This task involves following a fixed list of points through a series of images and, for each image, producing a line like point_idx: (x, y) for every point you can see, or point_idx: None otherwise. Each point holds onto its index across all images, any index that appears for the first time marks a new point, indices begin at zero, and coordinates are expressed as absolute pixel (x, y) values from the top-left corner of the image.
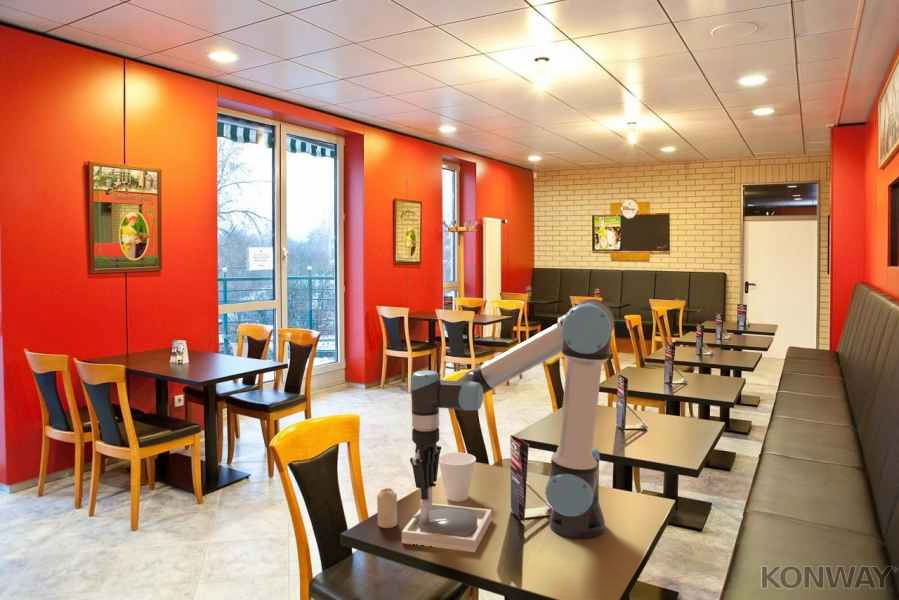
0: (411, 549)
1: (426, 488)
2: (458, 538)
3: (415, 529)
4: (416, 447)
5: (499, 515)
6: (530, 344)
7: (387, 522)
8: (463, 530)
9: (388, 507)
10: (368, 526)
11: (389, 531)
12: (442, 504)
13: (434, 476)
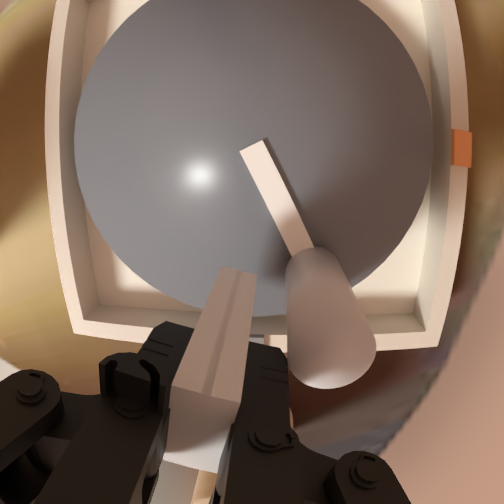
0: (464, 261)
1: (295, 439)
2: (460, 36)
3: None
4: None
5: (44, 2)
6: None
7: (291, 423)
8: (369, 12)
9: None
10: None
11: (317, 393)
12: (55, 242)
13: (21, 442)
